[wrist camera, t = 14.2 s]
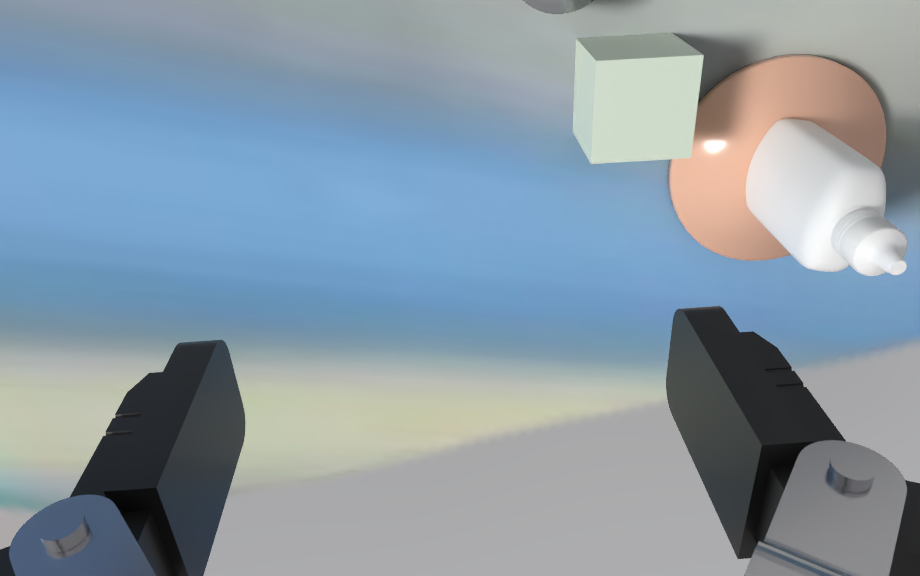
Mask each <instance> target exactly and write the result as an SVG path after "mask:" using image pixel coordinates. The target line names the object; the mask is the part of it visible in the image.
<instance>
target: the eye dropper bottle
mask: <svg viewBox="0 0 920 576" xmlns="http://www.w3.org/2000/svg"><path fill="white" fill-rule="evenodd" d="M745 194H746V203H747V207H748V208H749V210H750V212H751V213H752V214H753V215H754V216H755V217H756V218H757V219H758V220H759V221H760V222H761V223H762V224H763V225H764V227H765V228H766V229H767V230H768V231H769V232H770V233H771V234H772V235H773V236H774V237H775V238H776V239H777V240H778V241H779V242H780V243H781V244H782V245H783V246H784V247H785V249H786V250H787V251H788V252H789V253H790V254H791V255H792V256H793V257H794V258H795V259H796V260H797V261H798V262H799V263H800V264H802V265H803V266H805V267H806V268H809V269H811V270H817V271H827V272H836V271H841V270H843V269H845V268H846V267H848V266H849V265H851V266H852V267H853V268H854V269H855V270H856V271H857V272H859V273H861V274H863V275H866V276H876V275H881V274H884V273H886V272H888V273H890V274H892V275H899V274H901V273H903V272H904V271H905V270H906V267H907V264H906V262H905V261H904V259H903V257H904V256H905V253H906V250H907V245H908V243H907V238H906V236H905V234H904V233H903V232H902V231H901V230H900V229H898V228H897V227H896V226H894V225H893V224H892V223H891V222H889V221H888V220H887V219H885V218H884V212H885V206H886V182H885V176H884V174H883V172H882V170H881V169H880V168H879V167H878V166H877V165H876V164H874V163H873V162H872V161H870V160H869V159H867V158H866V157H865V156H863V155H862V154H860V153H859V152H857V151H856V150H854V149H853V148H851V147H850V146H848V145H847V144H845V143H844V142H842V141H841V140H839V139H838V138H836V137H835V136H833V135H832V134H830V133H829V132H827V131H826V130H824V129H823V128H821V127H820V126H818V125H817V124H815V123H813V122H811V121H806V120H798V119H787V118H786V119H781V120H779V121H777V122H776V123H774V124H773V125H772V127H771V128H770V129H769V130H768V132H767V133H766V134H765V136H764V137H763V139H762V140H761V142H760V143H759V145H758V147H757V149H756V151H755V153H754V155H753V157H752V160H751V162H750V165H749V169H748V173H747V178H746V189H745Z"/></svg>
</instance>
